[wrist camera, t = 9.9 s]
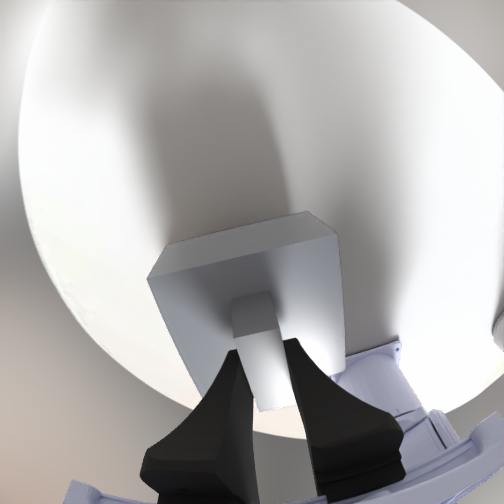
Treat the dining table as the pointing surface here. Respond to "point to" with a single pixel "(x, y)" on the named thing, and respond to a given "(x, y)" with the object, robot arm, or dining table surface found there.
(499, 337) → the energy drink can
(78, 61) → the dining table surface
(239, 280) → the grey stepped block
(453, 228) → the dining table surface
